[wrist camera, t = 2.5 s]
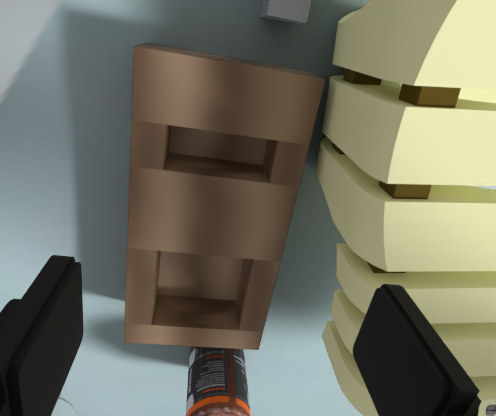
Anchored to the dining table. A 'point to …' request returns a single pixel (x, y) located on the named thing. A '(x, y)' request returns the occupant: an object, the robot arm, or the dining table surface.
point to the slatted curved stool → (414, 176)
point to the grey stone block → (286, 10)
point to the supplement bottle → (217, 382)
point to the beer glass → (63, 409)
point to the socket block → (211, 193)
